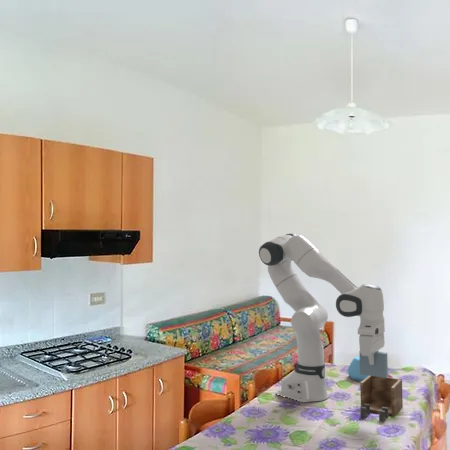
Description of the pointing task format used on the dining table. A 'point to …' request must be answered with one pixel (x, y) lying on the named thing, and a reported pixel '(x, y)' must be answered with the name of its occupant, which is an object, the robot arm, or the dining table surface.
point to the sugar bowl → (356, 370)
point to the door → (378, 368)
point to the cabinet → (381, 396)
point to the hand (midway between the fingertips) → (373, 363)
